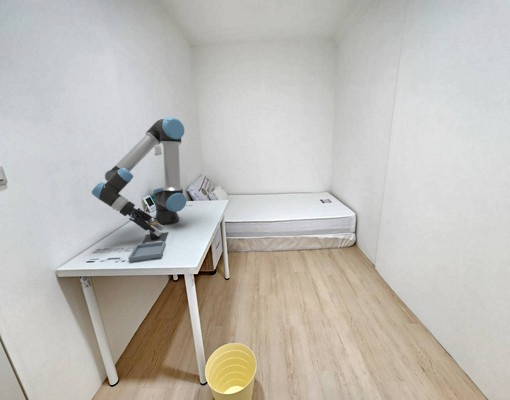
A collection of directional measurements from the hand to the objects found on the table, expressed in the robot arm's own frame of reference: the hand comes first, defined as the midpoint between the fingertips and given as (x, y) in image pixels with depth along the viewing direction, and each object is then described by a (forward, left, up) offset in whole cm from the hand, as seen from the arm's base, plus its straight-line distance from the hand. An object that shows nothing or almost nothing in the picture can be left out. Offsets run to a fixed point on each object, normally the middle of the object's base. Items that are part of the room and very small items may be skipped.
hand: (161, 231), depth 128 cm
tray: (+17, -4, -4) cm, 18 cm away
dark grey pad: (0, -4, -4) cm, 5 cm away
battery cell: (0, -4, -3) cm, 5 cm away
